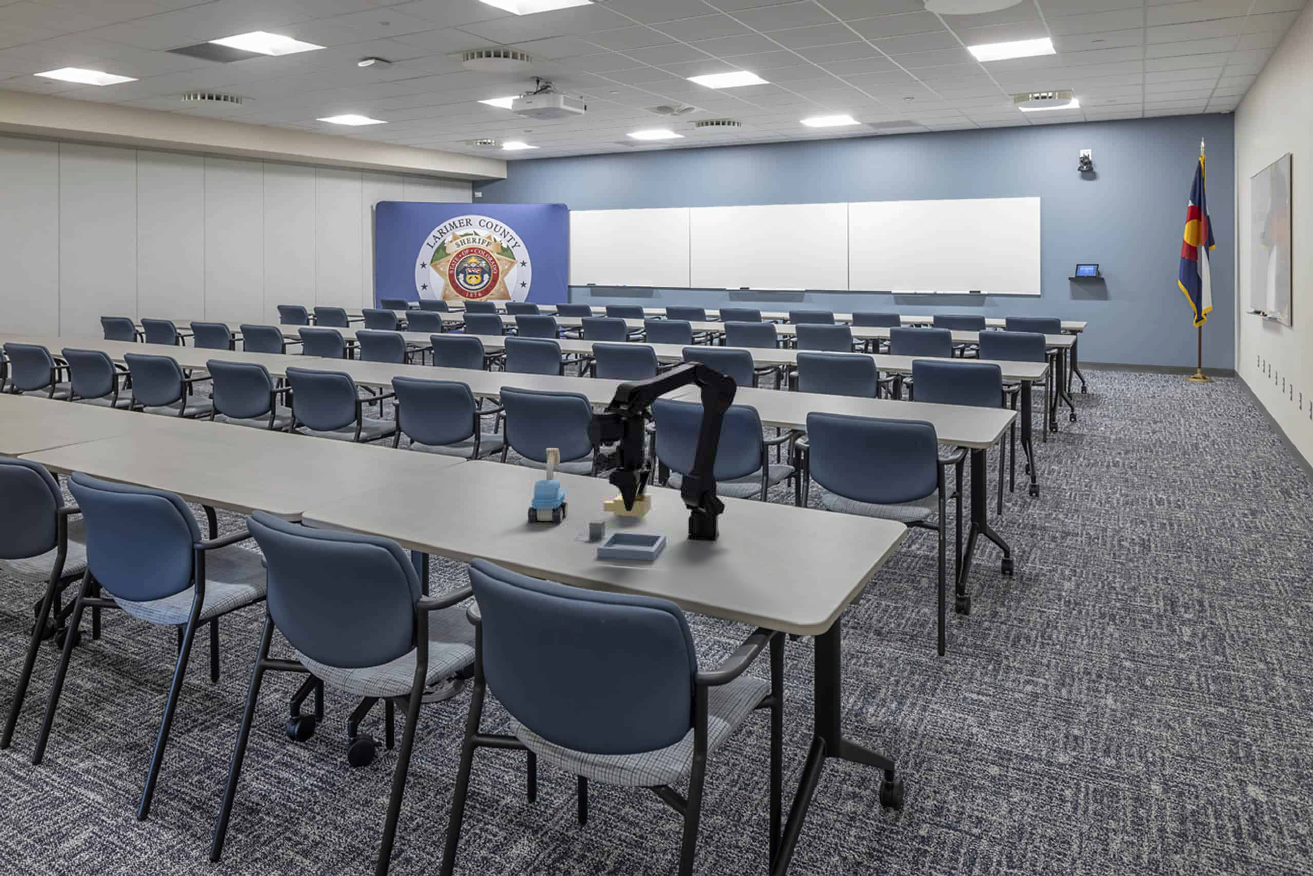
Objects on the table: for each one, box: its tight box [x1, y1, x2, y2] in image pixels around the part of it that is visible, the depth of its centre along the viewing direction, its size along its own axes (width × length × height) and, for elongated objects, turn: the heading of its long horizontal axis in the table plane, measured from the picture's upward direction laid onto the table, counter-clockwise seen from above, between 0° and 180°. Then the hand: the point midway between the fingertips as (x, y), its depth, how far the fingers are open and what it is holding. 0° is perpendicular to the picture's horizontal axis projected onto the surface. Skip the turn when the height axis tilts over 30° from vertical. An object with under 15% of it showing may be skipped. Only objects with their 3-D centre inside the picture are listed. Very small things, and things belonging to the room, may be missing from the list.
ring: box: [603, 493, 652, 518], centre depth 212 cm, size 10×7×4 cm
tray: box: [596, 531, 667, 562], centre depth 213 cm, size 13×13×2 cm
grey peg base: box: [573, 519, 615, 543], centre depth 224 cm, size 9×9×4 cm
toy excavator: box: [527, 447, 568, 524], centre depth 241 cm, size 9×17×17 cm, turn 174°
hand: (632, 506), depth 211 cm, fingers closed on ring, 7 cm apart
